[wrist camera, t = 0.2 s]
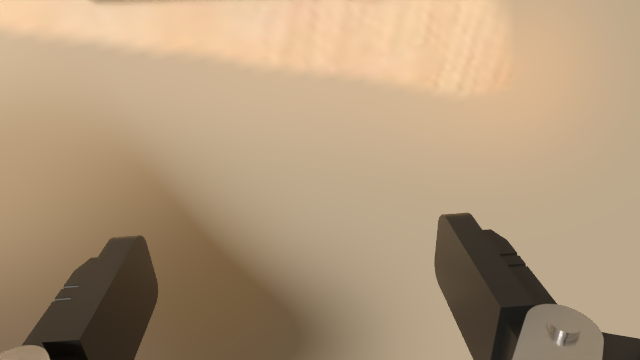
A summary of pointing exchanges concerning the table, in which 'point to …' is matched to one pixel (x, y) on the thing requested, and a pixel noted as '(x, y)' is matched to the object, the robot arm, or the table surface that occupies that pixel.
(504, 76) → the table surface
